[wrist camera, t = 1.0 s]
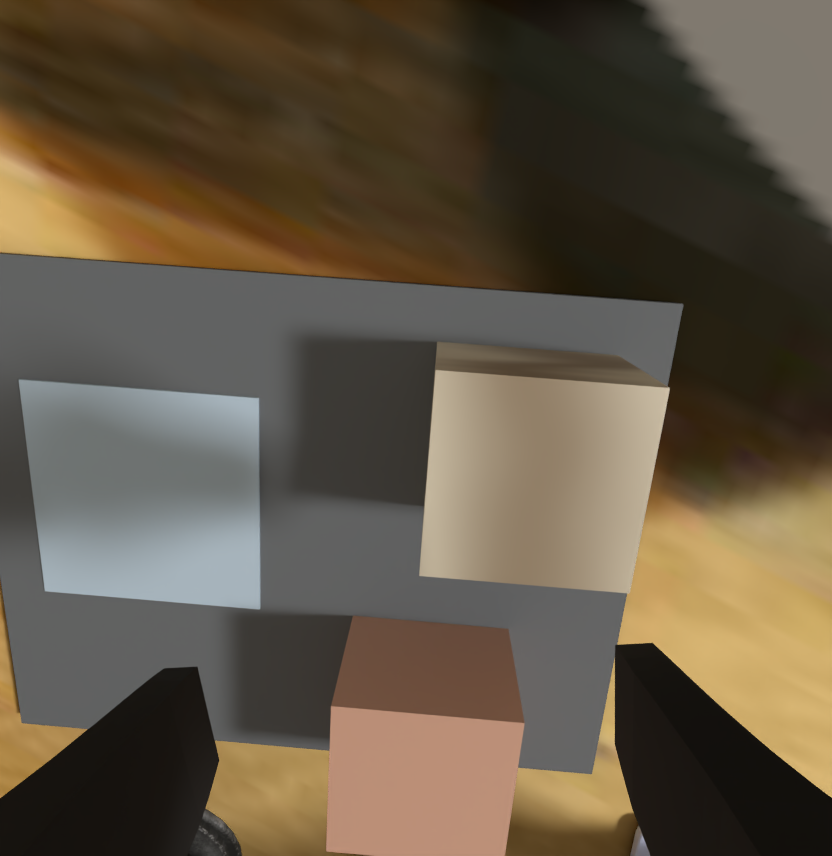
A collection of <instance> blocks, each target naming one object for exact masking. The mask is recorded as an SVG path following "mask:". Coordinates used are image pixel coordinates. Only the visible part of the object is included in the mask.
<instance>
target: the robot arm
mask: <svg viewBox="0 0 832 856" xmlns="http://www.w3.org/2000/svg"><path fill="white" fill-rule="evenodd" d="M615 746H616V750H617V754H618V758H619V761H620V765H621V769H622V773H623V777H624V780H625V784H626V788H627V791H628V795H629V798H630V802H631V805H632V809H633V811H634V814H635V817H636V819H637V822H638V825H639V826H638V828H637V830H636V833H635V837H634V841H633V846H632V850H631V854H630V856H832V798H831V797H830V796H828V795H827V794H826V793H824V792H823V791H822V790H820V789H819V788H818V787H816V786H815V785H814V784H812V783H811V782H810V781H809V780H807V779H806V778H805V777H804V776H802V775H801V774H800V773H799V772H797V771H796V770H795V769H794V768H792V767H791V766H790V765H788V764H787V763H786V762H785V761H783V760H782V759H781V758H780V757H778V756H777V755H776V754H775V753H774V752H772V751H771V750H770V749H769V748H768V747H766V746H765V745H764V744H763V743H762V742H760V741H759V740H758V739H757V738H756V737H755V736H754V735H752V734H751V733H750V732H749V731H748V730H747V729H746V728H744V727H743V726H742V725H741V724H740V723H739V722H738V721H736V720H735V719H734V718H733V717H732V716H731V715H729V714H728V713H727V712H726V711H725V710H724V709H723V708H722V707H721V706H719V705H718V704H717V703H716V702H715V701H714V700H713V699H712V698H711V697H710V696H709V695H707V694H706V693H705V692H704V691H703V690H702V689H701V688H700V687H699V686H698V685H697V684H696V683H695V682H693V681H692V680H691V679H690V678H689V677H688V676H687V675H686V674H685V673H684V672H683V671H682V670H681V669H680V668H679V667H678V666H677V665H675V664H674V663H673V662H672V661H671V660H670V659H669V658H668V657H667V656H666V655H665V654H664V653H663V652H662V651H661V650H659V649H658V648H657V647H656V646H655V645H654V644H653V643H644V644H625V645H615ZM218 762H219V757H218V753H217V749H216V744H215V740H214V736H213V732H212V727H211V723H210V719H209V714H208V710H207V706H206V701H205V697H204V693H203V688H202V684H201V680H200V675H199V671H198V667H178V668H164V669H162V670H161V671H160V672H158V673H157V674H156V675H154V676H153V677H152V678H150V679H149V680H148V681H146V682H145V683H144V684H143V685H141V686H140V687H139V688H138V689H136V690H135V691H134V692H133V693H132V694H130V695H129V696H128V697H127V698H125V699H124V700H123V701H122V702H121V703H119V704H118V705H117V706H116V707H115V708H113V709H112V710H111V711H110V712H109V713H107V714H106V715H105V716H104V717H103V718H101V719H100V720H99V721H98V722H96V723H95V724H94V725H93V726H92V727H90V728H89V729H88V730H87V731H85V732H84V733H83V734H82V735H81V736H79V737H78V738H77V739H76V740H74V741H73V742H72V743H71V744H70V745H68V746H67V747H66V748H65V749H63V750H62V751H61V752H60V753H59V754H57V755H56V756H55V757H54V758H52V759H51V760H50V761H48V762H47V763H46V764H45V765H43V766H42V767H41V768H39V769H38V770H37V771H35V772H34V773H33V774H31V775H30V776H29V777H28V778H26V779H25V780H24V781H22V782H21V783H20V784H18V785H17V786H16V787H15V788H13V789H12V790H11V791H9V792H8V793H7V794H5V795H4V796H3V797H1V798H0V856H187V855H188V853H189V850H190V848H191V845H192V843H193V841H194V838H195V836H196V833H197V831H198V828H199V826H200V823H201V820H202V817H203V814H204V811H205V808H206V804H207V801H208V798H209V795H210V791H211V788H212V784H213V780H214V777H215V773H216V770H217V766H218Z"/></svg>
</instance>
